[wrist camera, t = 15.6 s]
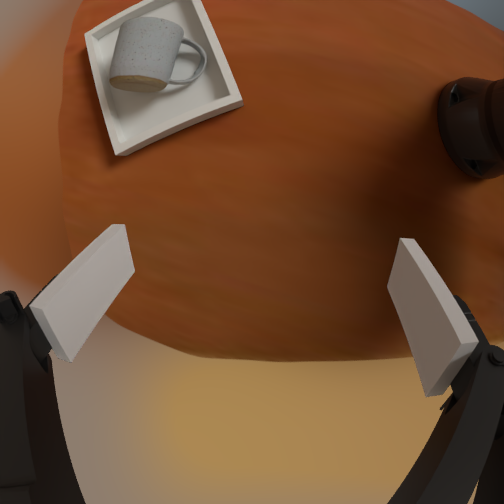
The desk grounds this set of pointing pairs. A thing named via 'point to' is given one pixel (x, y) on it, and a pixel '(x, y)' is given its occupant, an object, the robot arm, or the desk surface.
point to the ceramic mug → (149, 55)
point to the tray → (173, 96)
